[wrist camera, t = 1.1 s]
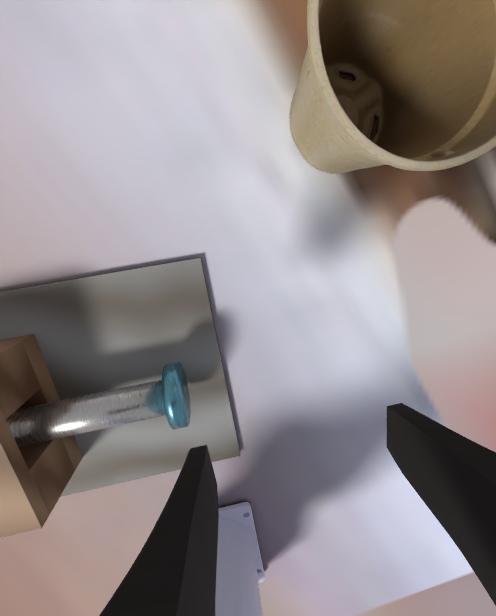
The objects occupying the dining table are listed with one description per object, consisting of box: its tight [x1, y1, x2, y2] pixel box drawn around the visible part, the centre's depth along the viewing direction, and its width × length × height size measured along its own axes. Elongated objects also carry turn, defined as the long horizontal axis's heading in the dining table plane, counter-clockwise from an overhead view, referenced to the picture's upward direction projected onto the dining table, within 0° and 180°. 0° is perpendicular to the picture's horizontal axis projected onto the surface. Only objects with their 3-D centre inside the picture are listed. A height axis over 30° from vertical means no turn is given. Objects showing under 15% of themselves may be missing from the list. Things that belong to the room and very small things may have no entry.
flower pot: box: [290, 0, 496, 174], centre depth 13 cm, size 9×9×9 cm
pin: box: [6, 362, 191, 447], centre depth 17 cm, size 4×12×4 cm, turn 99°
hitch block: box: [0, 257, 240, 538], centre depth 17 cm, size 16×22×6 cm
